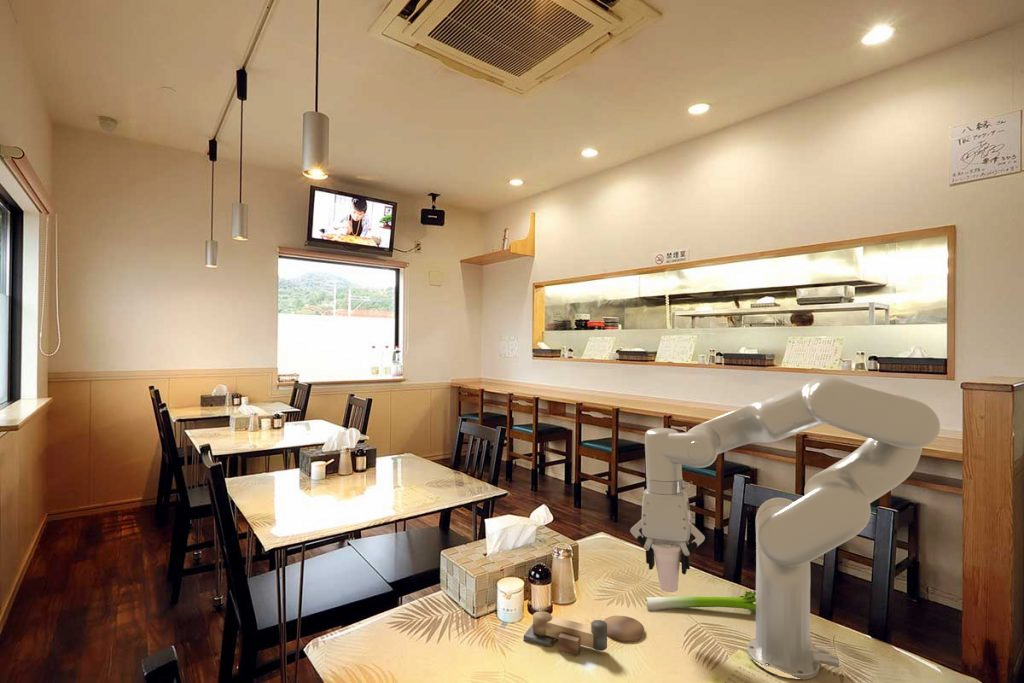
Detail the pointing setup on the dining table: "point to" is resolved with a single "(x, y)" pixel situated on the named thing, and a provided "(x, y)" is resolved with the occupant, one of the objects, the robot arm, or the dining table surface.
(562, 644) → the block
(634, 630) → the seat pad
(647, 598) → the leek
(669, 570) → the smoothie
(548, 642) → the pivot plate
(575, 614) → the dining table surface
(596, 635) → the leg
